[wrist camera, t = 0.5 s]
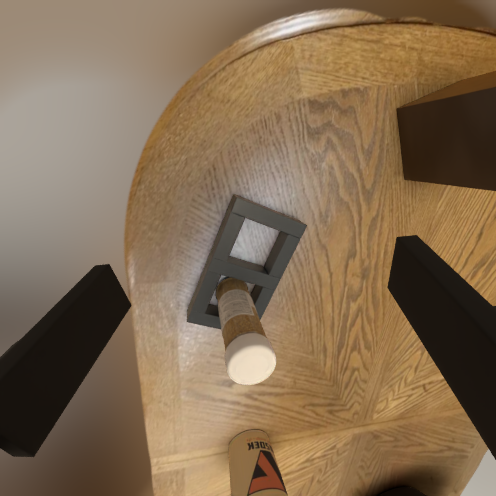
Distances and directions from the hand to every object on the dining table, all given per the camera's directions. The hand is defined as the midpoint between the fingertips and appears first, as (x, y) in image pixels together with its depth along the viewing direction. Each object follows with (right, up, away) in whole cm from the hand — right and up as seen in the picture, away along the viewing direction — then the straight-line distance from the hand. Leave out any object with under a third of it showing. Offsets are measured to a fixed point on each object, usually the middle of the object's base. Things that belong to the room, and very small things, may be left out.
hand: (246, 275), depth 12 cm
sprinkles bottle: (-2, -5, +22) cm, 23 cm away
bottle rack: (-1, -1, +21) cm, 21 cm away
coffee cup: (0, -36, +35) cm, 50 cm away
